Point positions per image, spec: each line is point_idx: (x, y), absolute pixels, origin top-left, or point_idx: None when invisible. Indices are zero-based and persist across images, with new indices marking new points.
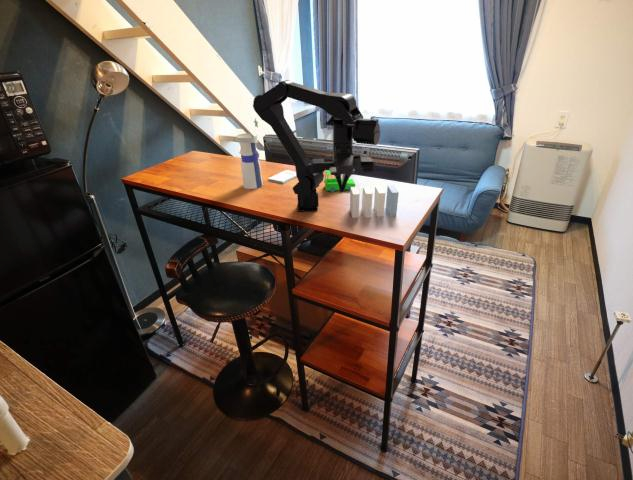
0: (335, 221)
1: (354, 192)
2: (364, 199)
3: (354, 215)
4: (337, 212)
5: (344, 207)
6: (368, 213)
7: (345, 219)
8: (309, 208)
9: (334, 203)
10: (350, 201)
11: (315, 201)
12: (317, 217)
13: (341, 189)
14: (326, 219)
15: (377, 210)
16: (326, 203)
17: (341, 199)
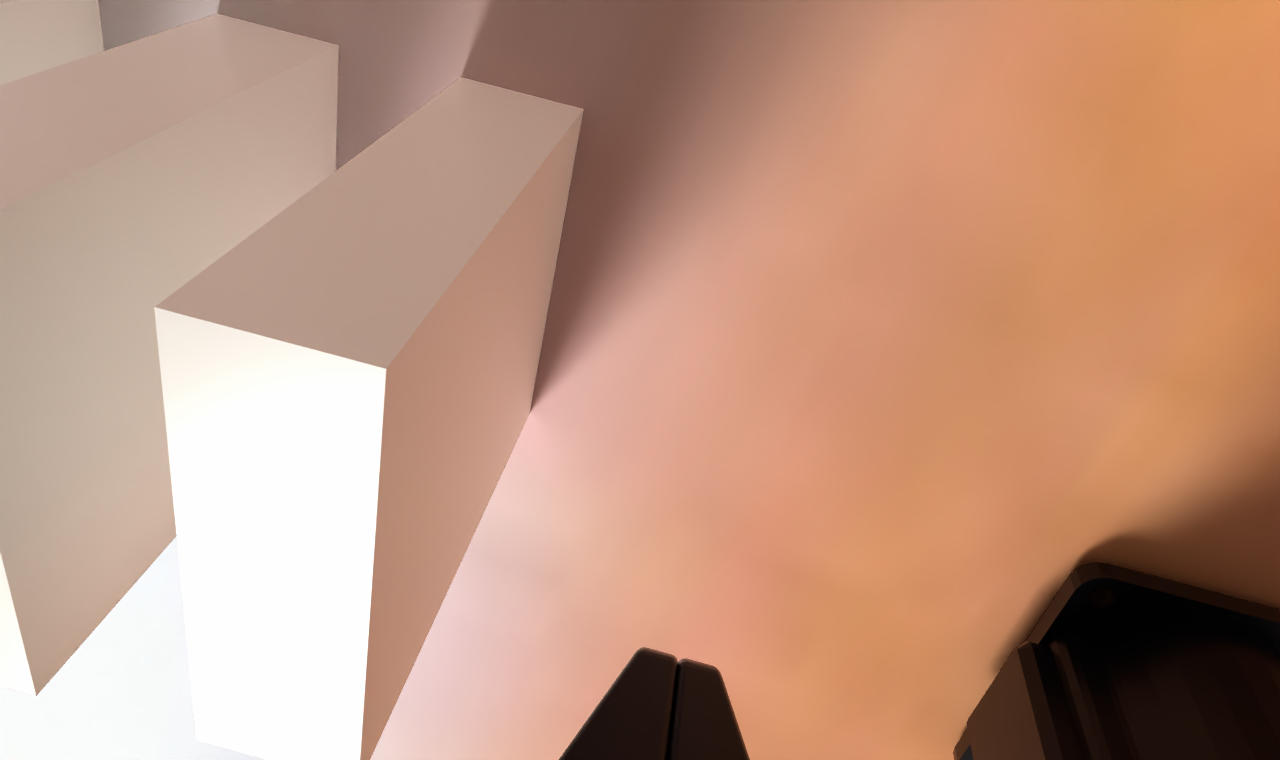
0: (979, 68)
1: (307, 479)
2: (147, 305)
3: (529, 110)
4: (769, 399)
5: (589, 506)
6: (228, 44)
7: (740, 85)
8: (1219, 639)
9: (692, 658)
10: (483, 480)
11: (1110, 735)
12: (1221, 356)
13: (692, 727)
14: (1106, 219)
15: (7, 34)
16: (807, 698)
17: (552, 712)
